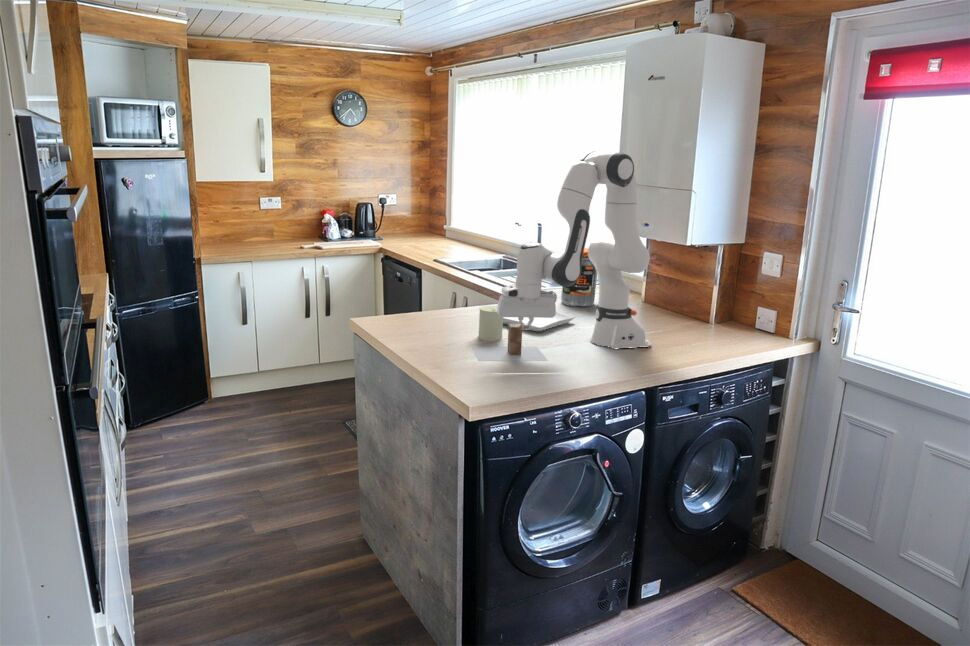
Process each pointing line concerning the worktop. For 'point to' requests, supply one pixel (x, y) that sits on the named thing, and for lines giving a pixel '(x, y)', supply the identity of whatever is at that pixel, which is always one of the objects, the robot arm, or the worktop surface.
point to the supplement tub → (582, 285)
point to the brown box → (514, 339)
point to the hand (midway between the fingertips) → (525, 329)
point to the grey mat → (503, 354)
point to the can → (490, 324)
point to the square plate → (541, 321)
